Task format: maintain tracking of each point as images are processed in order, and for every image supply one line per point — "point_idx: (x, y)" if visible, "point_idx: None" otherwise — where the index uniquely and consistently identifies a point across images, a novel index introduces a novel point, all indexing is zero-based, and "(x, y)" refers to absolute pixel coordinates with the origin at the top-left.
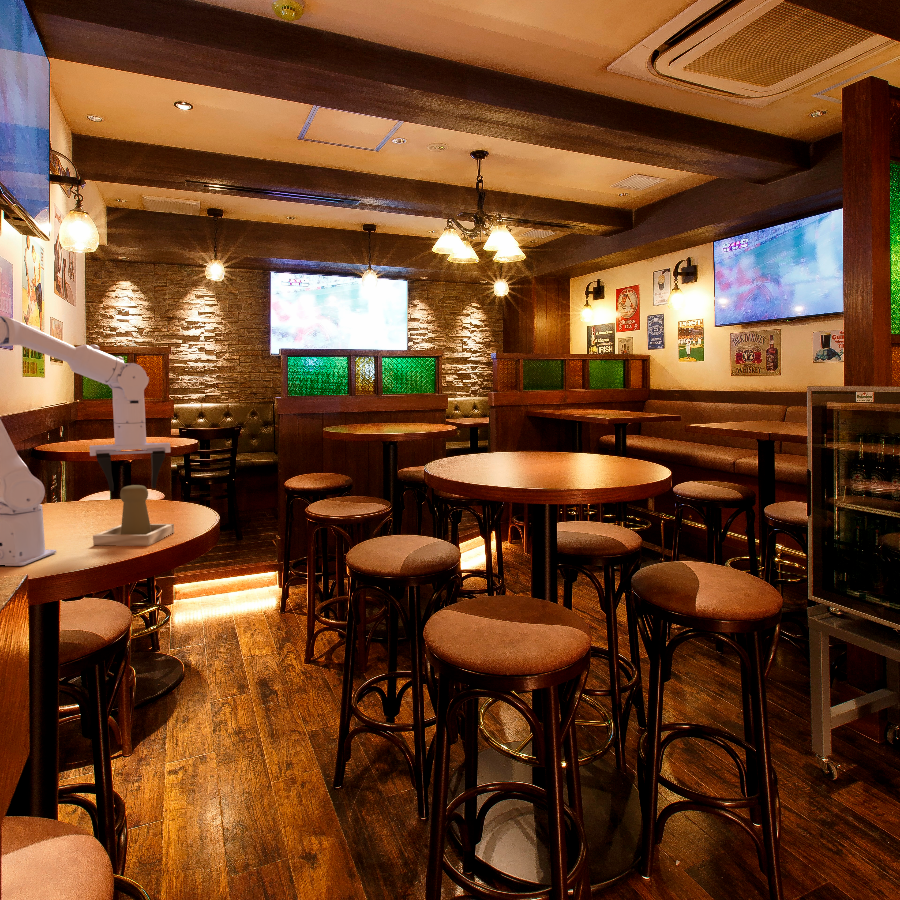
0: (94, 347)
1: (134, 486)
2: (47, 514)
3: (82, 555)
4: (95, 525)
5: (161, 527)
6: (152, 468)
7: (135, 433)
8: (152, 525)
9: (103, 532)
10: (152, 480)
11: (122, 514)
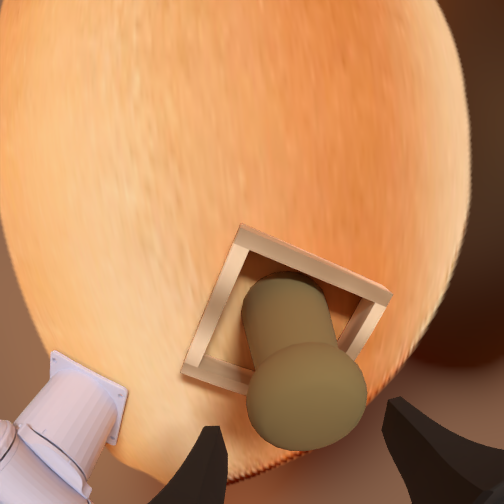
0: None
1: (315, 440)
2: None
3: (186, 423)
4: (144, 67)
5: (357, 334)
6: (416, 495)
7: None
8: (335, 285)
9: (199, 345)
10: (393, 459)
11: (251, 351)
